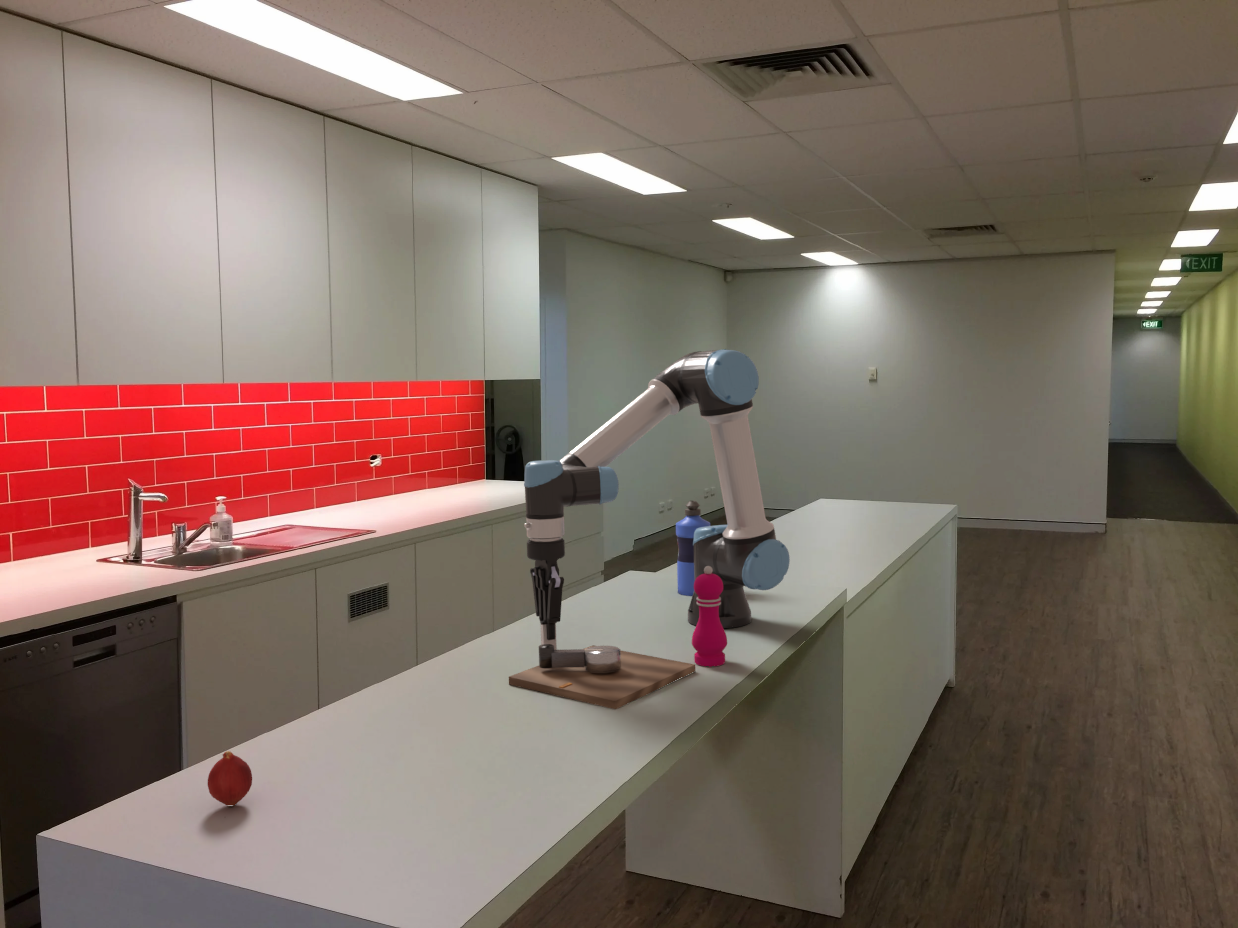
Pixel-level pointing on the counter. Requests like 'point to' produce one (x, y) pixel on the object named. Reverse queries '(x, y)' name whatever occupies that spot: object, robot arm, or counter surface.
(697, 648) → the pepper mill
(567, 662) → the dark grey dumbbell shape
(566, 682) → the wooden cutting board
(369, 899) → the counter surface
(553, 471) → the robot arm
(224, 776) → the onion
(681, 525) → the water bottle
